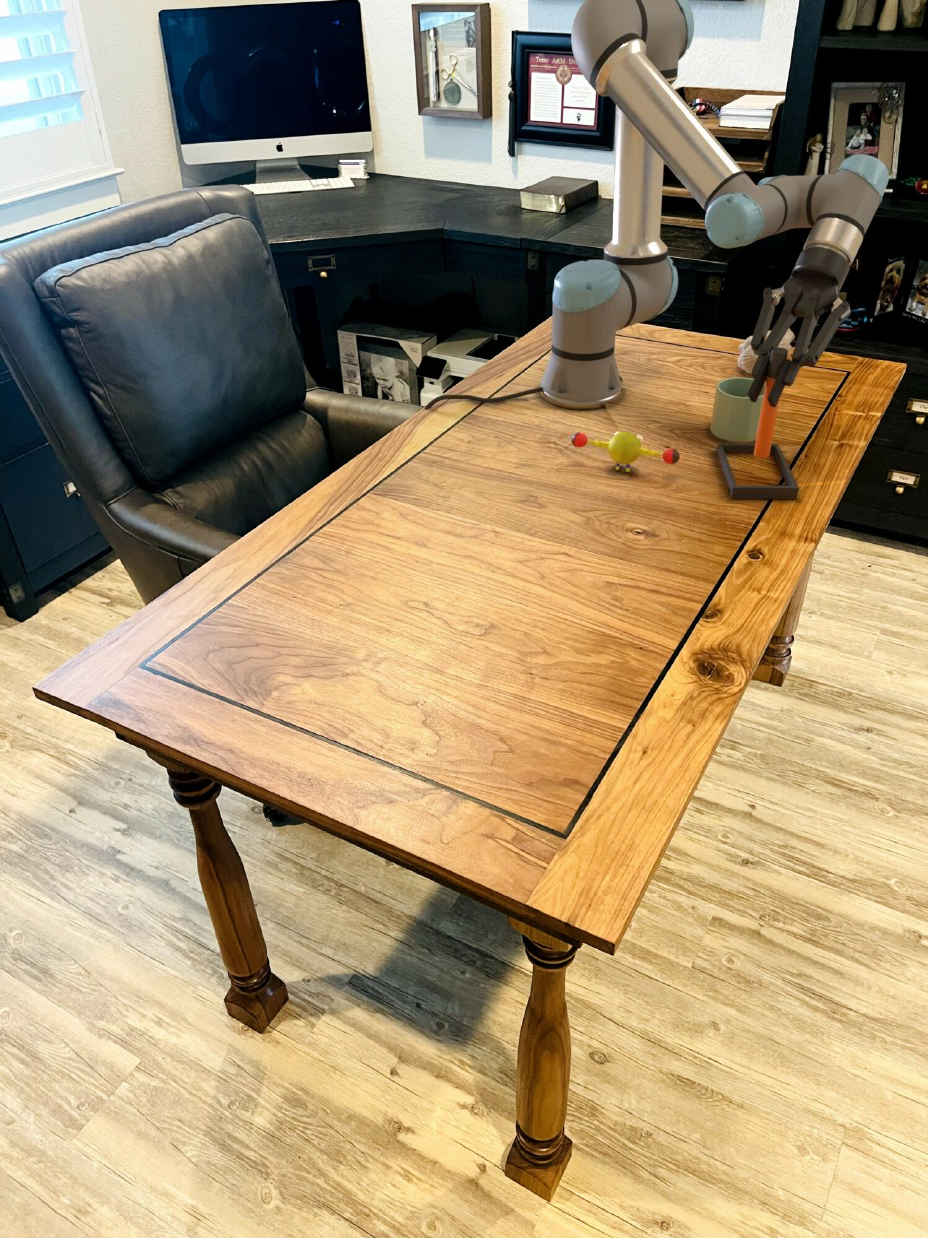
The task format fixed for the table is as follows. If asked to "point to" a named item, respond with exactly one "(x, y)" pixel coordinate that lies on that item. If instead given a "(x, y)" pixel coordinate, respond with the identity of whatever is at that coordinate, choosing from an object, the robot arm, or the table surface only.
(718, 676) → the table surface
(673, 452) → the toy figure
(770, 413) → the marker
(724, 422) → the pen cup
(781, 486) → the pen tray
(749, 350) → the fossil replica
